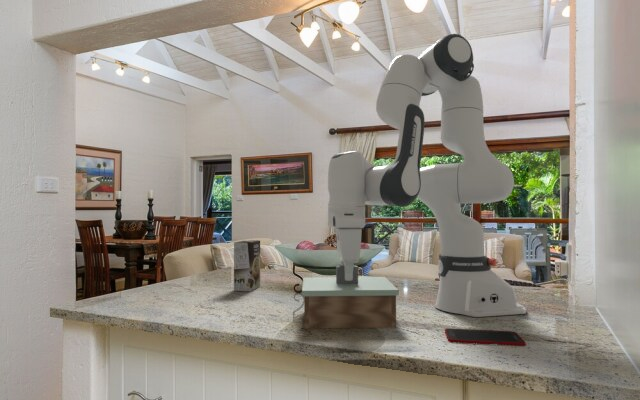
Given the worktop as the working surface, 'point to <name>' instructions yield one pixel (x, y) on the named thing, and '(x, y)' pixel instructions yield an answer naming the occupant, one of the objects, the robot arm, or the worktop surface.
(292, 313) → the worktop surface
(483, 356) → the worktop surface
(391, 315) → the box
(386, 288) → the lid
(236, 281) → the coffee box
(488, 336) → the cell phone
